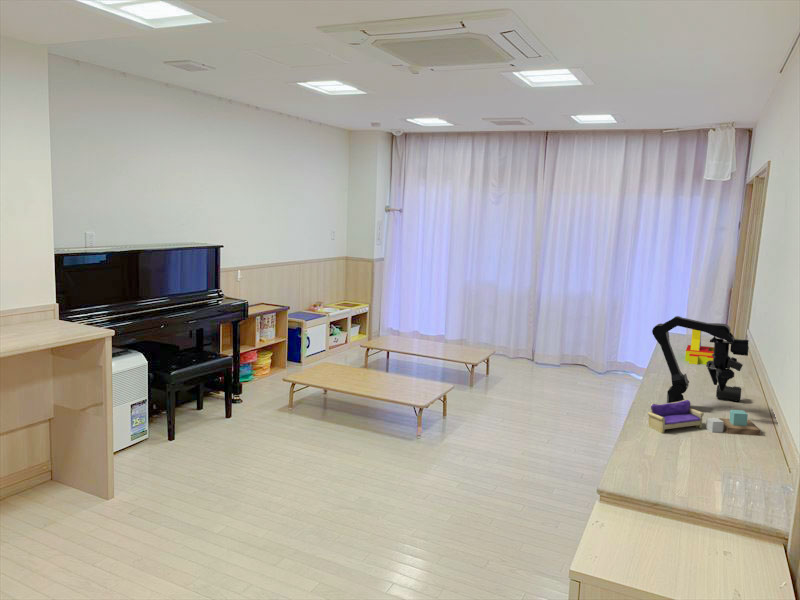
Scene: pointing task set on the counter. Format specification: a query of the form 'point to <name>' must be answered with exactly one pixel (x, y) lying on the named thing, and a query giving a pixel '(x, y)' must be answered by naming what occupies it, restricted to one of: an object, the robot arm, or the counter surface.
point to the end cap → (729, 393)
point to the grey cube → (714, 425)
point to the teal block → (738, 417)
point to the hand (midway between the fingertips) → (718, 387)
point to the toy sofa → (674, 416)
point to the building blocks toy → (698, 350)
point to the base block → (740, 428)
